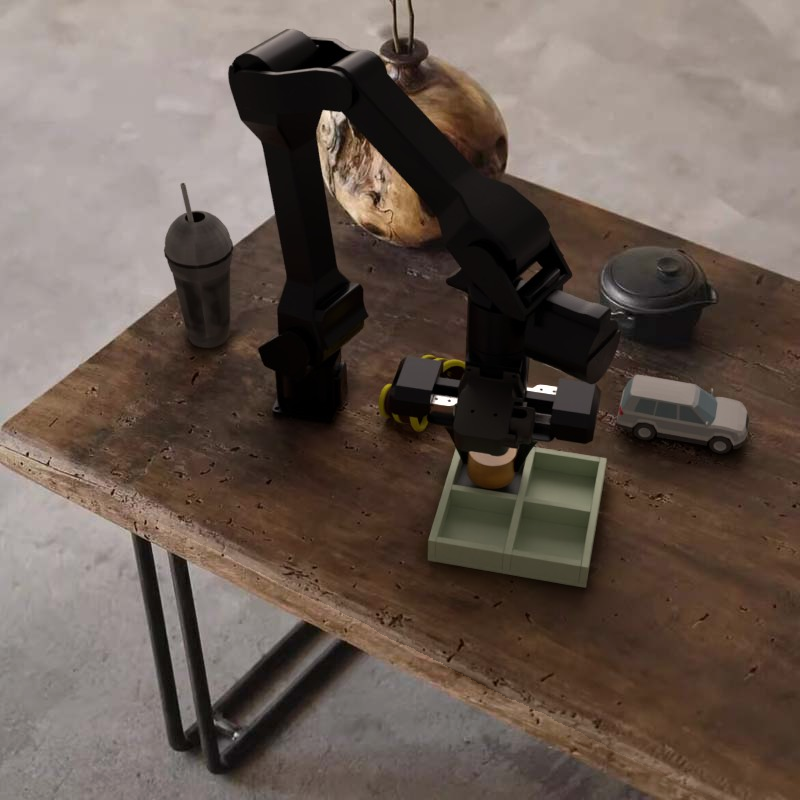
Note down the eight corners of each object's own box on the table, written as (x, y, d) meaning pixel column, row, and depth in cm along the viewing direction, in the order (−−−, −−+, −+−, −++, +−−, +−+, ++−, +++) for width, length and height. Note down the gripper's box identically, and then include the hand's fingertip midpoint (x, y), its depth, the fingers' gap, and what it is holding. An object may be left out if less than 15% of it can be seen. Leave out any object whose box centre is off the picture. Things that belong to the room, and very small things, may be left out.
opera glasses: (436, 381, 141) (429, 341, 138) (475, 393, 138) (469, 353, 135) (378, 428, 135) (370, 388, 133) (418, 442, 132) (410, 401, 130)
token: (462, 484, 125) (463, 461, 123) (472, 452, 129) (473, 429, 127) (510, 492, 124) (512, 469, 122) (518, 460, 128) (520, 437, 126)
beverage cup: (255, 329, 147) (241, 172, 134) (214, 363, 142) (195, 205, 129) (204, 308, 150) (185, 153, 137) (162, 341, 145) (138, 184, 132)
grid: (427, 560, 120) (427, 540, 119) (458, 455, 131) (459, 435, 129) (585, 588, 118) (588, 567, 116) (604, 478, 129) (607, 458, 127)
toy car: (742, 460, 130) (751, 422, 127) (613, 437, 133) (618, 399, 130) (747, 423, 135) (755, 385, 131) (622, 401, 137) (627, 364, 134)
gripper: (373, 377, 111) (375, 508, 121) (593, 411, 108) (577, 542, 118) (403, 301, 120) (403, 429, 130) (609, 330, 116) (592, 459, 126)
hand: (491, 465), depth 126 cm, fingers closed on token, 4 cm apart
